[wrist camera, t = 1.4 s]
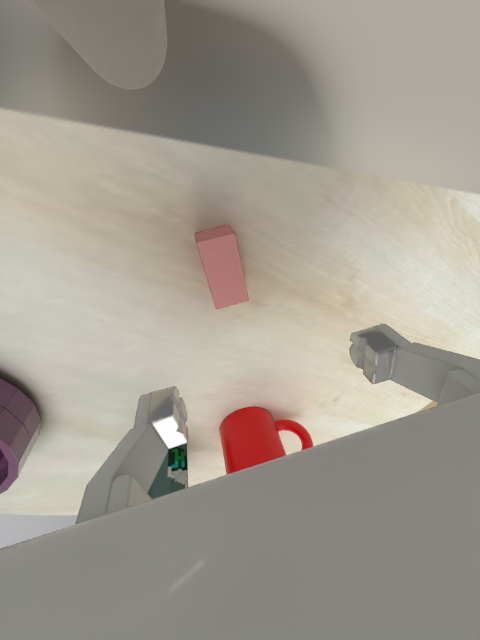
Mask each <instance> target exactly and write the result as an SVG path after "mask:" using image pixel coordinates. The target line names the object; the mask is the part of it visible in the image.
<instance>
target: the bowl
mask: <svg viewBox="0 0 480 640" xmlns="http://www.w3.org/2000/svg"><path fill="white" fill-rule="evenodd" d="M40 425H41V418H40V416H39V414H38V411H37V409H36V407H35V405H34V403H33V402H32V401H31V400H30V399H29V398H28V397H27V396H26V395H25V394H24V393H23V392H22V391H21V390H19V389H18V388H17V387H15V386H13V385H11V384H9V383H8V382H6V381H4V380H2V379H0V494H1V493H3V492H5V491H6V490H8V488H9V487H10V486H11V485H12V483H13V482H14V481H15V480H16V478H17V477H18V475H19V473H20V471H21V469H22V468H23V466H24V464H25V462H26V460H27V458H28V456H29V454H30V452H31V450H32V448H33V446H34V444H35V442H36V440H37V438H38V436H39V433H40Z"/></svg>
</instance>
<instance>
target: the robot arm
mask: <svg viewBox="0 0 480 640" xmlns="http://www.w3.org/2000/svg"><path fill="white" fill-rule="evenodd" d="M350 341H351V342H352V343H353V344H352V345H351V347H350V357H351V359H352V361H353V363H354V364H355V365H356V366H357V367H358V368H361V369H363V374H364V375H365V376H366V378H367V379H368V380H369V381H370V382H371V383H372V384H376V383H379V382H383V381H386V380H390V379H391V380H392V381H394V382H396V383H398V384H400V385H402V386H404V387H406V388H408V389H410V390H412V391H414V392H416V393H418V394H421V395H423V396H425V397H427V398H429V399H431V400H433V401H435V402H437V405H436V407H433V408H430V409H427V410H424V411H420V412H417V413H414V414H411V415H408V416H405V417H402V418H399V419H396V420H393V421H390V422H387V423H384V424H381V425H378V426H375V427H372V428H368V429H365V430H362V431H359V432H356V433H353V434H350V435H347V436H344V437H341V438H338V439H335V440H332V441H329V442H326V443H323V444H320V445H317V446H314V447H311V448H307V449H304V450H301V451H298V452H295V453H292V454H289V455H286V456H283V457H280V458H277V459H274V460H271V461H268V462H264V463H261V464H258V465H255V466H252V467H249V468H246V469H243V470H240V471H237V472H234V473H231V474H228V475H225V476H222V477H219V478H216V479H212V480H209V481H206V482H203V483H200V484H197V485H194V486H191V487H188V488H185V489H182V490H179V491H176V492H173V493H170V494H167V495H163V496H160V497H157V498H154V499H151V497H150V496H149V495H148V494H147V493H148V491H149V489H150V487H151V485H152V483H153V481H154V479H155V477H156V475H157V473H158V471H159V469H160V467H161V464H162V462H163V460H164V458H165V456H166V454H167V452H168V449H170V448H173V447H176V446H179V445H182V444H185V443H188V429H187V426H186V424H185V422H186V421H187V411H186V406H185V403H184V401H183V399H182V398H180V397H179V391H178V389H177V387H176V386H173V387H169V388H166V389H162V390H158V391H155V392H152V393H148V394H145V395H141V396H140V398H139V401H138V407H137V413H136V418H135V424H134V428H133V429H130V430H129V432H128V433H127V434H126V435H125V437H124V438H123V439H122V441H121V442H120V443H119V444H118V446H117V447H116V448H115V450H114V451H113V452H112V453H111V455H110V456H109V457H108V459H107V460H106V461H105V462H104V464H103V465H102V466H101V468H100V469H99V470H98V471H97V473H96V474H95V475H94V477H93V478H92V479H91V480H90V482H89V483H88V484H87V486H86V489H85V493H84V496H83V500H82V503H81V506H80V510H79V513H78V517H77V521H76V524H75V525H72V526H69V527H66V528H63V529H59V530H56V531H53V532H50V533H47V534H44V535H41V536H38V537H35V538H32V539H29V540H26V541H23V542H20V543H17V544H14V545H11V546H7V547H4V548H1V549H0V640H480V360H479V359H476V358H472V357H468V356H464V355H461V354H457V353H453V352H449V351H445V350H442V349H438V348H434V347H430V346H427V345H423V344H419V343H415V342H414V343H410V342H409V341H408V340H406V339H405V338H404V337H402V336H401V335H400V334H398V333H397V332H396V331H394V330H393V329H392V328H390V327H389V326H388V325H386V324H379V325H376V326H373V327H370V328H367V329H364V330H360V331H357V332H354V333H352V334H351V335H350Z"/></svg>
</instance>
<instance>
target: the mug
mask: <svg viewBox="0 0 480 640" xmlns="http://www.w3.org/2000/svg"><path fill="white" fill-rule="evenodd" d="M282 430H287V431H291V432H293V433H295V434H296V435H297V436H298V437H299V438H300V439H301V442H302V450H304V449H307V448H311V447H313V442H312V439H311V437H310V435H309V433H308V432H307V430H306V429H305V428H304V427H303V426H302V425H300V424H299V423H297V422H294V421H291V420H277V421H273V418H272V415H271V414H270V412H268V411H267V410H265V409H263V408H259V407H248V408H243V409H240V410H237V411H235V412H233V413H232V414H230V415H229V416H227V417H226V418H225V419H224V421H223V422H222V424H221V426H220V435H221V442H222V448H223V454H224V461H225V467H226V473H227V475H228V474H231V473H234V472H237V471H240V470H243V469H246V468H249V467H252V466H255V465H258V464H261V463H264V462H268V461H271V460H274V459H277V458H280V457H283V456H286V453H285V450H284V447H283V445H282V442H281V439H280V437H279V434H278V431H282Z"/></svg>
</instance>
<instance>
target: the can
mask: <svg viewBox="0 0 480 640" xmlns="http://www.w3.org/2000/svg"><path fill="white" fill-rule="evenodd" d="M185 488H188V470H187V443H185V444H182V445H179V446H176V447H173V448H170V449H168V452H167V454H166V456H165V458H164V460H163V462H162V464H161V467H160V469H159V471H158V473H157V475H156V477H155V479H154V481H153V483H152V485H151V487H150V489H149V491H148V493H147V494H148V495H149V496H150V497H151V499H154V498H157V497H160V496H163V495H167V494H170V493H173V492H176V491H179V490H182V489H185Z"/></svg>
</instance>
